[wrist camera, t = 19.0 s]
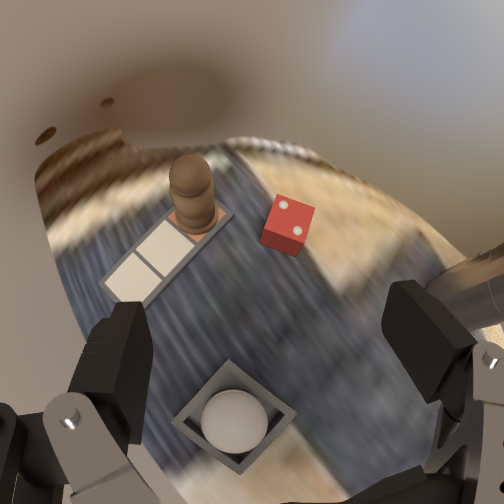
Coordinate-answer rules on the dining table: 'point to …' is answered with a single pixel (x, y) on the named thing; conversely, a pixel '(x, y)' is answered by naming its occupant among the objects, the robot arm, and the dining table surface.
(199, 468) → the dining table surface
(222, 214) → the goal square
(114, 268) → the track board
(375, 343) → the dining table surface
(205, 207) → the wooden pawn
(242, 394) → the dome
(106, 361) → the robot arm
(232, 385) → the base
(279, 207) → the red die
